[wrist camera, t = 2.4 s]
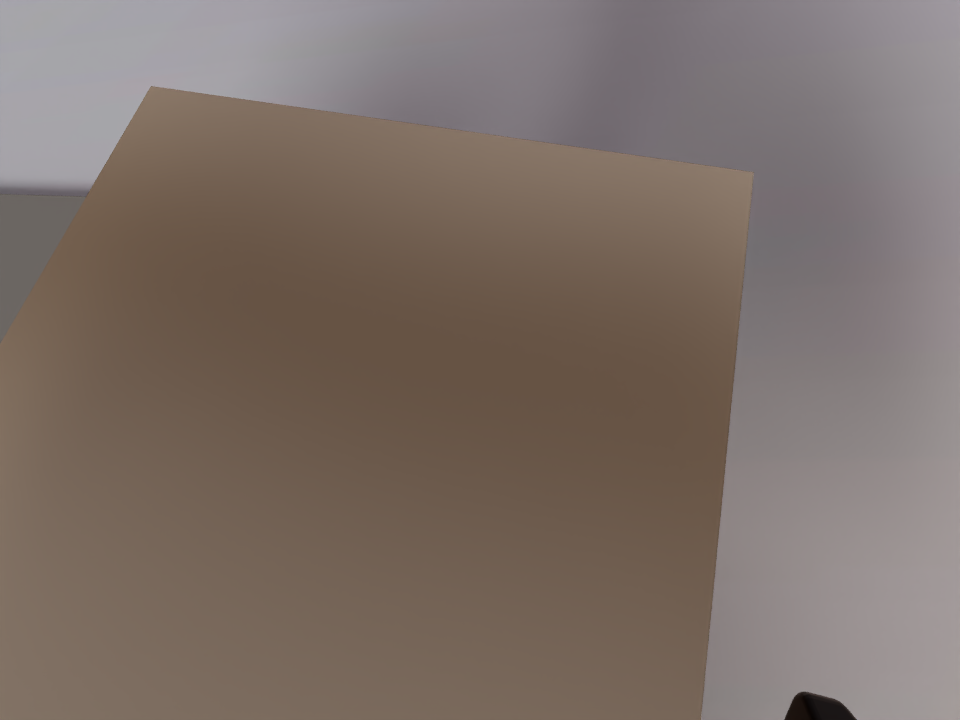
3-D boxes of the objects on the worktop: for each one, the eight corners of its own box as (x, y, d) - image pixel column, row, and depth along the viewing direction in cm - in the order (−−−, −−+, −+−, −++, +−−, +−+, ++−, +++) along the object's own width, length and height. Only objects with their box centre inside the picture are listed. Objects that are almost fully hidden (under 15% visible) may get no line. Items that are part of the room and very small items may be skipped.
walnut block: (553, 730, 15) (667, 1047, 3) (345, 672, 16) (-228, 733, 4) (591, 513, 17) (753, 172, 5) (404, 470, 17) (151, 87, 6)
